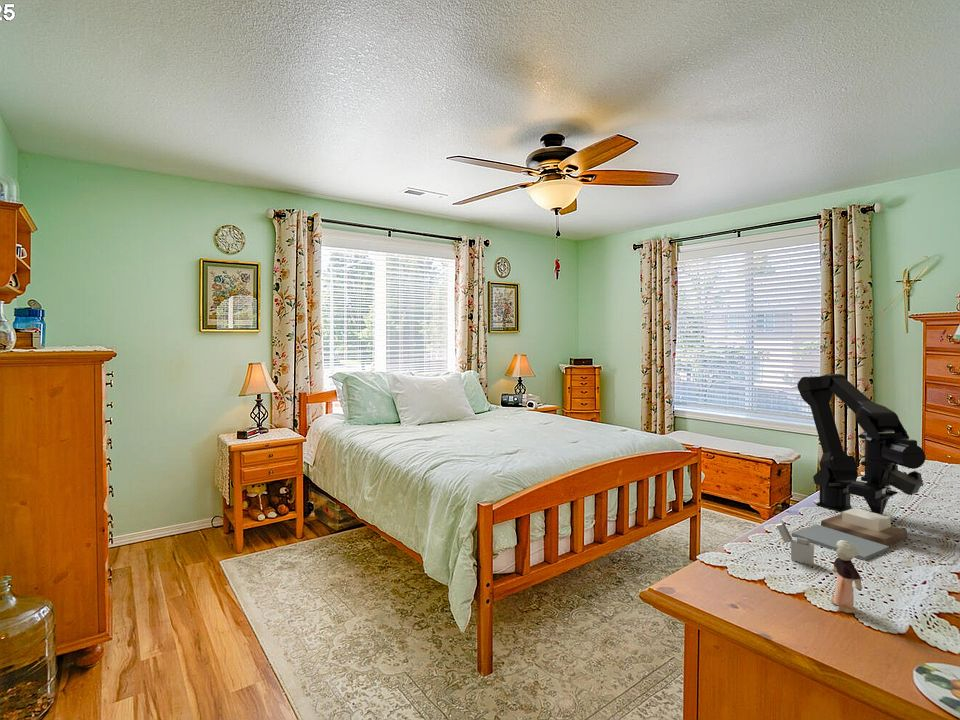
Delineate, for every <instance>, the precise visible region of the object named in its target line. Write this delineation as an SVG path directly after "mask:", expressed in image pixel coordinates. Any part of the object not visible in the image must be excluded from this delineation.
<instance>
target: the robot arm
mask: <svg viewBox="0 0 960 720" xmlns="http://www.w3.org/2000/svg"><path fill="white" fill-rule="evenodd" d="M797 390H798V391H799V395H800V397H801V399H802V400H803V401H804V402H805V403H806V404H807V405H808V406H809V407H810V411H811V414H812V418H813V420H814V425H815V429H816V432H817V436H818V439H819V442H820V446H821V450H822V455H821V458H820V460H819V467H820V468H819V470H818V471H817V472H816V473H815V474H814V475H813V476H812V478H813V483H814V484H815V485H816V486H819V501H818V502H816V504H815V505H816V506H820V507H823V508H827V509H831V510H834V511H837V512H843V511H846V510H849V509H852V505H851V495H853V496H858V497H862V498H864V500H865V502H866V504H867V505H868V507H869V509H870V510H871V511H870V512H873V513H877V514H881V515H884V511H885V509H886V506H887V503H888V502H889V499H890V498H892V497H893V496H895V495H897V494H898V493H899V492H898V491H895V490H893V489H892V487H894V488H896V489H897V490H899V491H901V492H902V493H903V494H906V495H907V496H908V495H909V496H913V495H914V494H917V493H918V492H919V490H920V488H921V487H923V486H924V480H923V478H922V473H921V472H918V471H916V470H914V469H918V468H920V467H922V466H923V464H924V463H925V461H926V456H927V455H926V453H925V451H924V450H923V448H922V447H920V446H919V445H918V440H916V439H910V437H909V434H908V431H907V430H906V429H905V428H904V425H903V424H902V422H901V420H900V418H899V416H898V414H897V413H896V412H894V411H893V410H892V409H890V408H888V407H887V406H884V405H882V404H879V403H877V402H876V403H875V402H874V401H872V400H871V399H870V398H869V397H868V396H866V395H865V394H864V393H863V392H862V391H860V390H859V389H858V388H857V387H856V386H855V385H854V384H852V383H851V382H850V381H849V380H848V379H847V377H846V375H844V374H841V373H827V374H823V375H820V376H819V375H818V376H817V375H816V376H802V377H801V378H800V380H798V382H797ZM833 395H835V396H836V397H837V398H838V399H839V400H840V401H841V402H842V403H843V404H845V406H846V407H848V408H849V409H850V411H852V412H853V413H854V415H855V421H856V423H857V424H858V426H860V428H861V429H862V430H863V432H862V433H860V434H859V435H858V438H859V439H863V440H864V460H861V462H860V465H861V466H864V475H863V476H860V480H858V477H859V472H858V471H859V468H858V466H857V463H856V458H855V457H854V456H853V455H849V454H847V453H846V451H844V448H843V445H842V441H841V438H840V434H839V431H838V428H837V424H836V421H835V418H834V414H833V411H832V407H831V401H832V398H833ZM899 466H901V467H903V468H907V469H913V470H914V471H910V472H908V473H907V472H906V471H901V470H899Z"/></svg>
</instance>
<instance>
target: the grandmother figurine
mask: <svg viewBox="0 0 960 720" xmlns="http://www.w3.org/2000/svg"><path fill="white" fill-rule="evenodd" d="M836 545H837V547H838V549H837V551H835V552H836V556H837V557H836V558H835V560H834V562H833V568H832V571H833V572H834V573H835V574H837V577H836V585H835V590H834V596H833V597H831V598H830V602H831V604H833V605H836V606H838V609H839V611H841V612H842V613H846V614H852V613H857V612H858V611H857V609H856V607H854V601H855V600H854V599H855V598H854V587H855V589H857V590H859V591H861V590H863V586H862V581H861V580H862V577H861V575H860V573H859V572H858V570H857V568H856V567H855V565H854V563H853V561H852V560H853V559H854V558H856V557H855V556H858V555H859V553H858V551H857V549H856V548H855V547H854V545H853V544H851V543H849V542H847V541H844V540H840V541H838V542H837V544H836ZM853 582H854V584H855V585H854V587H853Z"/></svg>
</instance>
